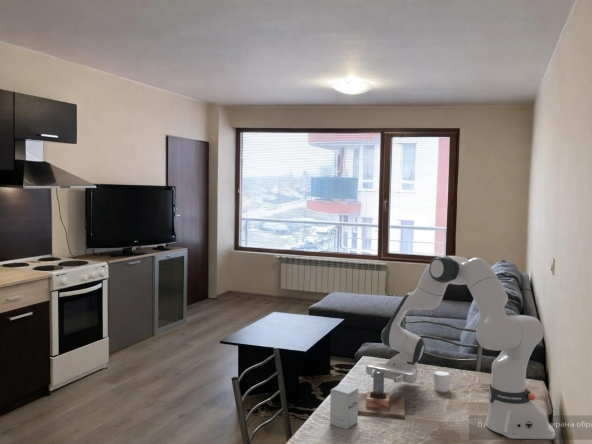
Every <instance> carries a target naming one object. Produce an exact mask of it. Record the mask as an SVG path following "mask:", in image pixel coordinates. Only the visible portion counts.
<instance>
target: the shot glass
mask: <svg viewBox="0 0 592 444" xmlns="http://www.w3.org/2000/svg"><path fill="white" fill-rule="evenodd" d="M450 381H451V373H450V372H449V371H446V370H435V371H433V384H434V386H433V388H434V390H435V391H436V392H440V393H441V392H442V393H446V392H449V390H450V389H449V388H450Z"/></svg>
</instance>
